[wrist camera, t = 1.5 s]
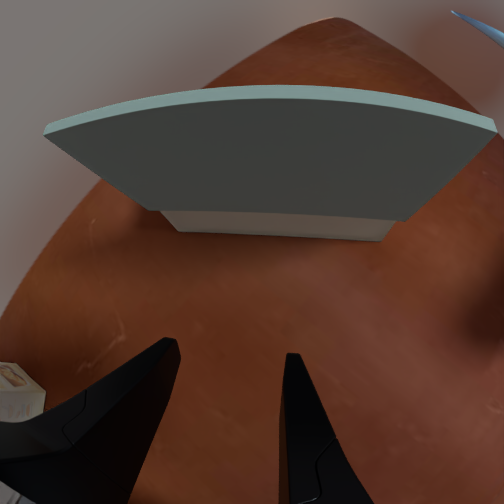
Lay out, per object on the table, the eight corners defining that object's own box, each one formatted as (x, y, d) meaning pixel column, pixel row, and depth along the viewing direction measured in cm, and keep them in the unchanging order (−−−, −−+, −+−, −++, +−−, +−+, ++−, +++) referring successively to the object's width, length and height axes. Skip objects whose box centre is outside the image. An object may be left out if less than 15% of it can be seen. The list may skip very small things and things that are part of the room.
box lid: (404, 213, 18) (405, 221, 18) (150, 203, 21) (148, 210, 21) (492, 119, 7) (497, 132, 7) (47, 124, 10) (42, 135, 10)
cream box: (381, 241, 23) (399, 216, 18) (178, 231, 26) (155, 206, 21) (370, 142, 27) (379, 108, 22) (200, 138, 29) (186, 106, 25)
